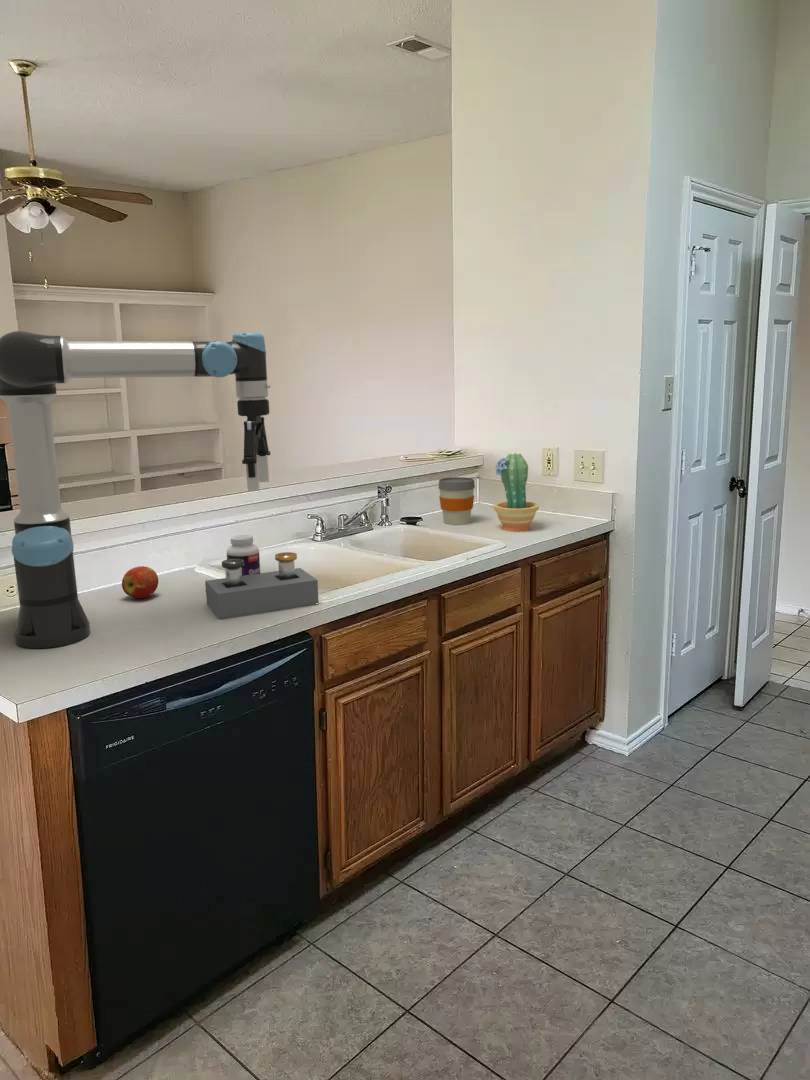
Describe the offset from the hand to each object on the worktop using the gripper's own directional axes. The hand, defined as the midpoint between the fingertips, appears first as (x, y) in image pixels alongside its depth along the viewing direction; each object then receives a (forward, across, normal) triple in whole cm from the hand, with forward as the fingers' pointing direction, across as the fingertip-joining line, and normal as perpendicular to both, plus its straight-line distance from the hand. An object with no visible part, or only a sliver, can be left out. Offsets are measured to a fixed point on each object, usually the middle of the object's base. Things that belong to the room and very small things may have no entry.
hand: (258, 486), depth 207 cm
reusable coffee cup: (+28, +83, -53) cm, 102 cm away
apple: (+27, -2, +31) cm, 41 cm away
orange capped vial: (+23, -7, -7) cm, 25 cm away
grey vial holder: (+27, -10, -1) cm, 29 cm away
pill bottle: (+27, 0, +5) cm, 28 cm away
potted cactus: (+28, +71, -72) cm, 105 cm away
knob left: (+23, -13, +5) cm, 27 cm away
